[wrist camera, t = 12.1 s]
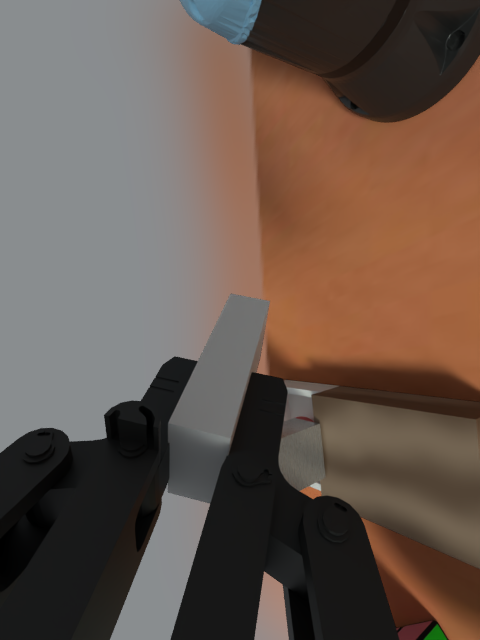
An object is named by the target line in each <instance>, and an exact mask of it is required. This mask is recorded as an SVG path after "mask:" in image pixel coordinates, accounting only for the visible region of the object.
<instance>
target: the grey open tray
mask: <svg viewBox="0 0 480 640" xmlns="http://www.w3.org/2000/svg"><path fill="white" fill-rule="evenodd" d="M284 383H285V385H286V388H287V390H288V394H287V401H286V408H285V415H284V421H286V420H289V419H292V418H296V417H300V416H303V417H307V418H310V419H311V420H313V421H314V416H313V406H312V396H311V395H312V394H316V393H319V392H322V391H325V390H329V389H332V388H335V387H338V386H336V385H328V384H319V383H310V382H302V381H293V380H284ZM310 487H313V488H315V489H317V490H320V491H321V484H320V481H318V482H316V483H314V484H312V485H310Z"/></svg>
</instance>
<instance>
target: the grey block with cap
mask: <svg viewBox="0 0 480 640" xmlns="http://www.w3.org/2000/svg"><path fill="white" fill-rule="evenodd" d="M279 467H280V471H281V473H282V475H283V476H284V478H285V479H286V480H287V482H288V483H289V484H290V485H291V486H293V487H294V488H295V489H297V490H298V491H300V490H302V489H304V488H306V487H308V486H310V485H312V484H314V483H316V482H318V481H320V480H322V479H324V478H326V477H325V467H324V458H323V448H322V438H321V429H320V424H319V423H315V422H311V421H306V420H302V419H297V418H292V419H289V420H286V421H284V422H283V429H282V436H281V443H280V450H279Z"/></svg>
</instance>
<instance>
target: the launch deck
mask: <svg viewBox="0 0 480 640" xmlns="http://www.w3.org/2000/svg"><path fill="white" fill-rule="evenodd" d="M311 396H312V406H313V416H314V422H315V423H319V424H320V429H321V438H322V448H323V458H324V467H325V477H326V478H324V479H322V480H320V484H321V493H322V496H326V495H328V496H333V497H337V498H340V499H342V500H343V501H345V502H347V503H349V504H350V505H351V506H352V507H353V508H354V509H355V510H356V511H357V512H358V514H359V515H360V517H362V518H364V519H367V520H369V521H371V522H373V523H376V524H378V525H380V526H383V527H385V528H387V529H389V530H392V531H394V532H396V533H399V534H401V535H403V536H405V537H408V538H410V539H412V540H415V541H417V542H419V543H421V544H424V545H426V546H428V547H430V548H433V549H435V550H437V551H440V552H442V553H444V554H446V555H449V556H451V557H453V558H456V559H458V560H460V561H462V562H465V563H467V564H469V565H472V566H474V567H476V568H478V569H480V402H475V401H466V400H457V399H449V398H440V397H431V396H423V395H414V394H405V393H397V392H388V391H379V390H371V389H362V388H354V387H345V386H338V387H335V388H332V389H329V390H325V391H322V392H319V393H316V394H312V395H311Z"/></svg>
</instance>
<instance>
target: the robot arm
mask: <svg viewBox="0 0 480 640" xmlns="http://www.w3.org/2000/svg"><path fill="white" fill-rule="evenodd" d="M180 2H181V4H182V6H183V7H184V9H185V10H186V12H187V13H188V15H189V16H190V17H191V18H192V19H193V20H194V21H196V22H197V23H199V24H200V25H202V26H204V27H206V28H208V29H210V30H211V31H213V32H215V33H217V34H219V35H221V36H223V37H224V38H226V39H227V40H228V41H229V42H230V43H232V44H239V45H240V44H241V45H244V46H246V47H249V48H251V49H254V50H256V51H259V52H261V53H264V54H266V55H269V56H271V57H274V58H276V59H279V60H281V61H284V62H286V63H289V64H291V65H293V66H296V67H298V68H301V69H303V70H306V71H308V72H311V73H314V74H316V75H318V76H321V77H322V78H323V79H324V81H325V82H326V83H327V84H328V85H329V87H330V88H331V89H332V90H333V92H334V93H335V94H336V95H337V97H338V98H339V99H340V100H341V102H342V103H343V104H344V105H345V106H346V107H347V108H348V109H350V110H351V111H352V112H354V113H356V114H357V115H360V116H362V117H365V118H368V119H371V120H374V121H377V122H397V121H402V120H405V119H408V118H411V117H413V116H415V115H418V114H420V113H421V112H423V111H425V110H427V109H428V108H430V107H431V106H433V105H434V104H436V103H437V102H438V101H439V100H441V99H442V98H443V97H444V96H445V95H447V94H448V93H449V92H450V91H451V90H452V89H453V88H454V87H455V86H456V85H457V84H458V83H459V82H460V81H461V79H462V78H463V77H464V76H465V75H466V73H467V72H468V71H469V69H470V68H471V67H472V65H473V64H474V63H475V61H476V60H477V58H478V57H479V55H480V0H180ZM269 303H270V301H267V300H261V299H256V298H251V297H246V296H241V295H235V294H230V296H229V299H228V300H227V302H226V304H225V306H224V308H223V311H222V313H221V315H220V317H219V319H218V321H217V323H216V325H215V327H214V329H213V331H212V333H211V335H210V337H209V339H208V342H207V344H206V346H205V348H204V350H203V352H202V354H201V356H200V358H199V360H198V361H194V360H188V359H184V358H180V357H173V358H172V359H170V360H169V361H167V362H166V363H165V364H163V365H162V367H161V368H160V370H159V372H158V374H157V375H156V378H155V379H154V380H153V382H152V383H151V385H150V388H148V390H147V392H146V393H145V395H144V397H143V399H142V400H141V401H128V402H123V403H120V404H118V405H116V406H114V407H112V408H111V409H110V410H109V411H108V412H107V413H106V414H105V415H104V418H105V426H106V433H107V438H105V439H102V440H94V441H77V442H69V438H68V436H67V435H66V434H65V433H64V432H63V431H61V430H57V429H54V428H41V429H38V430H34V431H31V432H29V433H27V434H25V435H24V436H22V437H20V438H19V439H17V440H16V441H15V442H14V443H12V444H11V445H10V446H9V447H7V448H6V449H5V450H4V451H2V452H1V453H0V640H110V638H111V635H112V633H113V630H114V628H115V625H116V623H117V620H118V618H119V615H120V613H121V610H122V607H123V605H124V602H125V600H126V597H127V595H128V592H129V590H130V587H131V585H132V582H133V579H134V577H135V575H136V572H137V569H138V567H139V565H140V562H141V560H142V557H143V555H144V552H145V549H146V547H147V544H148V542H149V540H150V537H151V534H152V532H153V529H154V527H155V524H156V522H157V519H158V517H159V514H160V510H161V505H162V501H161V500H162V499H161V498H162V495H163V493H164V491H165V488H166V485H167V483H168V493H173V494H176V495H180V496H184V497H188V498H191V499H196V500H199V501H203V502H207V503H210V507H209V510H208V513H207V517H206V520H205V524H204V527H203V531H202V535H201V537H200V541H199V544H198V548H197V551H196V554H195V558H194V561H193V565H192V568H191V572H190V575H189V578H188V582H187V585H186V589H185V592H184V595H183V599H182V603H181V606H180V609H179V613H178V616H177V620H176V623H175V626H174V630H173V633H172V636H171V640H254V637H255V629H256V623H257V615H258V608H259V601H260V595H261V588H262V580H263V574H264V571H265V572H266V573H267V574H269V575H270V576H272V577H273V578H274V579H276V580H277V581H279V582H280V583H282V584H283V589H284V599H285V608H286V617H287V626H288V635H289V640H400V639H399V636H398V633H397V630H396V626H395V623H394V620H393V617H392V613H391V610H390V607H389V604H388V600H387V597H386V594H385V591H384V587H383V584H382V581H381V578H380V574H379V571H378V568H377V565H376V561H375V558H374V555H373V552H372V548H371V545H370V542H369V539H368V535H367V532H366V529H365V526H364V523H363V521H362V519H361V517H360V515H359V514H358V512H357V511H356V510H355V509H354V508H353V507H352V506H351V505H350V504H349V503H347V502H345V501H343V500H342V499H340V498H337V497H333V496H328V495H326V496H320V497H316V498H315V499H312V498H310V497H308V496H306V495H305V494H303V493H301V492H300V491H298V490H297V489H295V488H294V487H293V486H291V485H290V484H289V483H288V482H287V480H286V479H285V478H284V476H283V475H282V473H281V471H280V467H279V450H280V443H281V436H282V429H283V422H284V415H285V408H286V401H287V394H288V390H287V388H286V385H285V383H284V380H283V379H282V378H277V377H273V376H268V375H263V374H259V373H256V372H257V368H258V364H259V361H260V356H261V350H262V344H263V339H264V333H265V327H266V321H267V315H268V309H269Z"/></svg>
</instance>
